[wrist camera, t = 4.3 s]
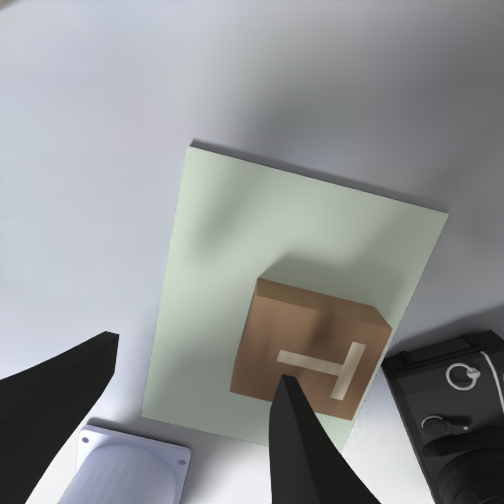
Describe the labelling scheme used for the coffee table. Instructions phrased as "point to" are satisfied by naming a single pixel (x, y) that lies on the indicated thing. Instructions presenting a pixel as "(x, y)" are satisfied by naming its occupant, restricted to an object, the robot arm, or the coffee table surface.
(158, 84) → the coffee table surface
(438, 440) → the film camera
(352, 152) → the coffee table surface
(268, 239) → the mat
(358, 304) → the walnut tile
